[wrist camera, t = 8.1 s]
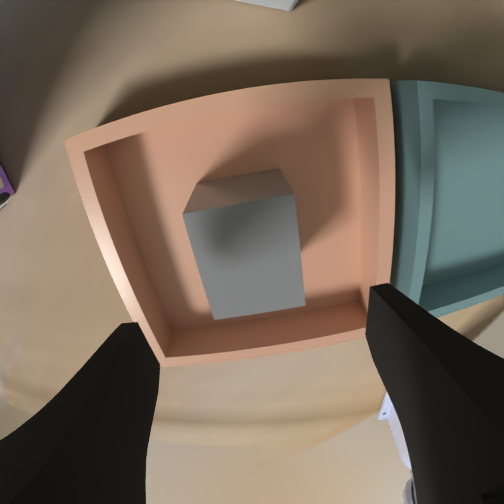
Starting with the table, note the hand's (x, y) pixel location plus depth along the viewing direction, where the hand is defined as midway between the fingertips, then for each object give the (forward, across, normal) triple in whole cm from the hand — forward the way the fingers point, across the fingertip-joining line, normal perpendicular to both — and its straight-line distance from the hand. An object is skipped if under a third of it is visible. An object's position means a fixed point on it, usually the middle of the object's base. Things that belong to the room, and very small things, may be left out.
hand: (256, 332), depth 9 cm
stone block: (+7, 0, 0) cm, 7 cm away
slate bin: (+8, -15, 0) cm, 17 cm away
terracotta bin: (+8, 0, 0) cm, 8 cm away
